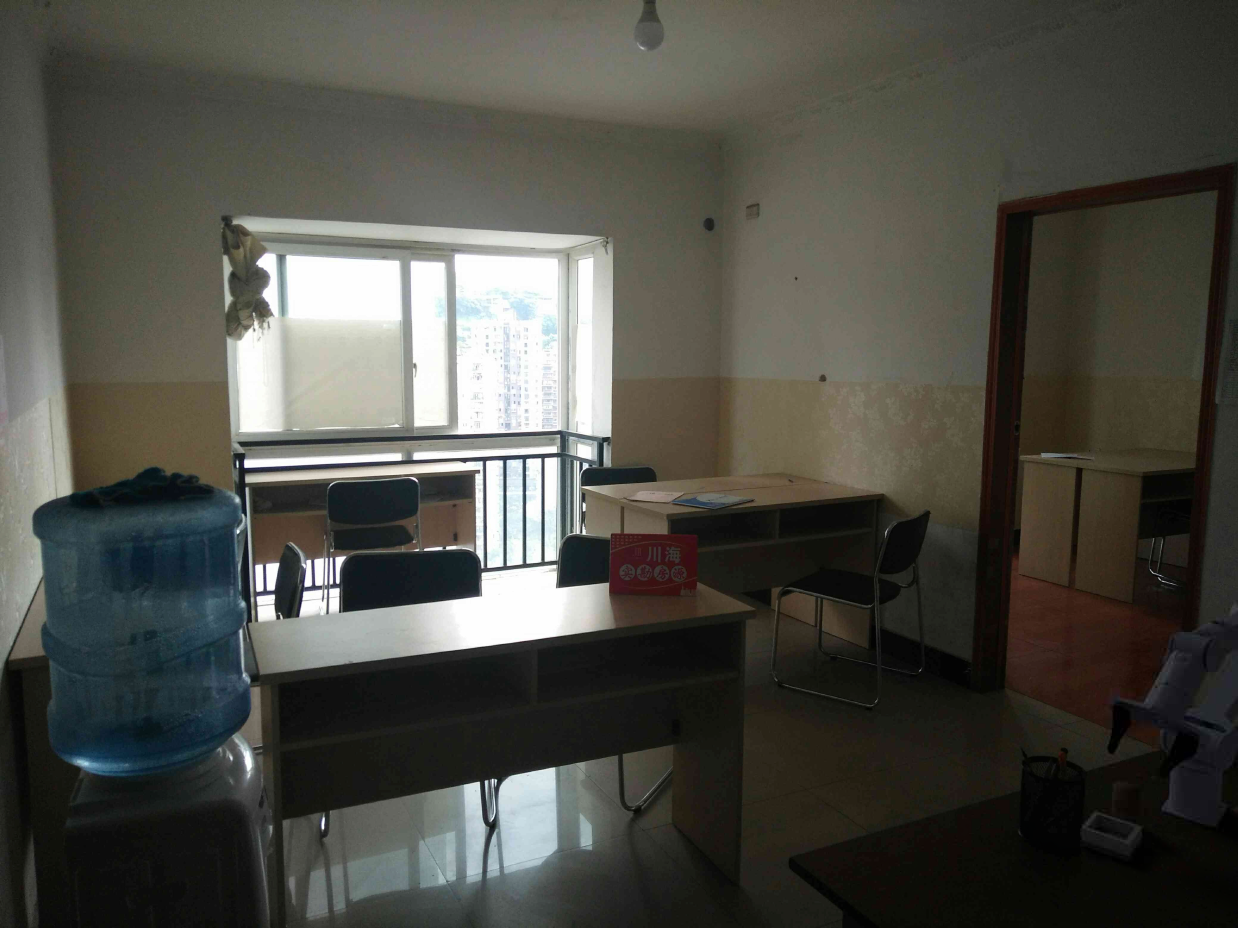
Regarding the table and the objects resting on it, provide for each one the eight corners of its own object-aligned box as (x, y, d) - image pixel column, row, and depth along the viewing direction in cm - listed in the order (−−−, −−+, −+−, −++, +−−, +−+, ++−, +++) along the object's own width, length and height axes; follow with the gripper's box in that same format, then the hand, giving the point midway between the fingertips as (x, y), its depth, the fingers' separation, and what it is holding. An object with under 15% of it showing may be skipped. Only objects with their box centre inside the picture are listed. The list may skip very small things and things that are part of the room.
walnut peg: (1115, 817, 148) (1117, 778, 147) (1141, 826, 145) (1143, 786, 144) (1107, 826, 145) (1109, 787, 144) (1134, 835, 142) (1136, 795, 142)
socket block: (1094, 827, 145) (1094, 811, 145) (1141, 843, 140) (1142, 826, 140) (1080, 844, 140) (1080, 827, 140) (1128, 861, 135) (1129, 843, 135)
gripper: (1122, 664, 145) (1085, 729, 141) (1222, 703, 134) (1185, 775, 130) (1126, 684, 149) (1090, 748, 145) (1222, 724, 139) (1186, 794, 135)
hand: (1135, 762), depth 138 cm, fingers open, 7 cm apart
